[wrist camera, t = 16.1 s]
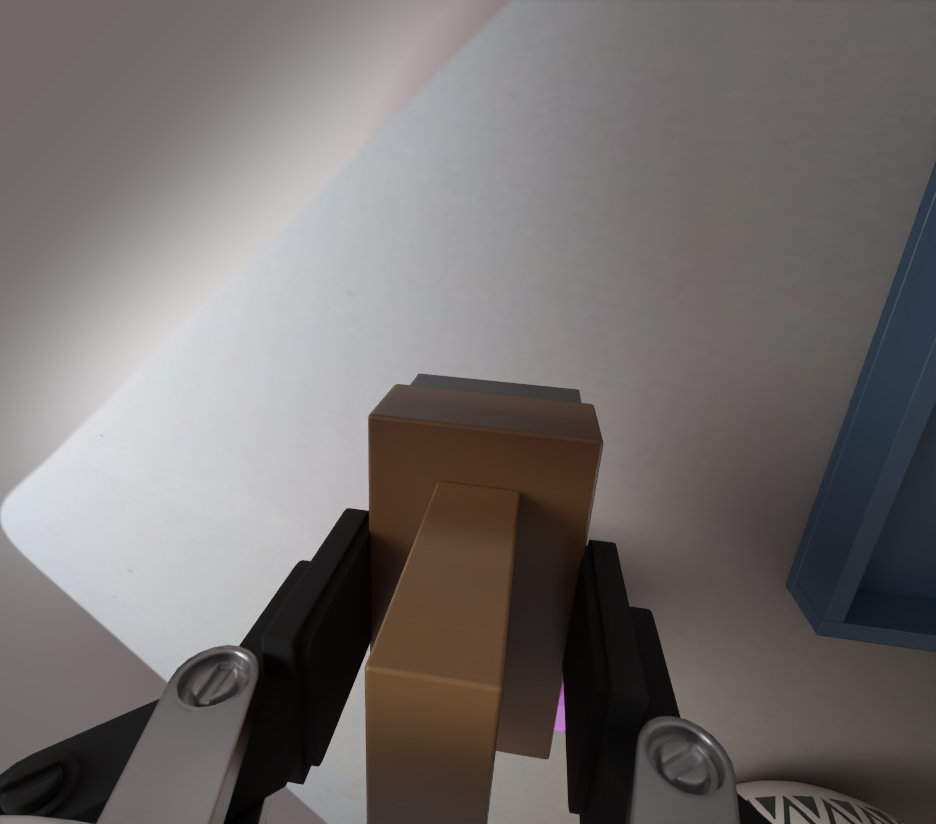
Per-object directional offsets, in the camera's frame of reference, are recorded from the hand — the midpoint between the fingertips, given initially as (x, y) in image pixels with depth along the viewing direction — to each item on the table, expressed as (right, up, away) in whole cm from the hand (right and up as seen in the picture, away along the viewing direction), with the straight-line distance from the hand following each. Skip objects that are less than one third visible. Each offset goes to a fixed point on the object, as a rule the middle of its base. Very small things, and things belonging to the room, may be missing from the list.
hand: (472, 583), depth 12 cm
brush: (0, +1, +3) cm, 3 cm away
